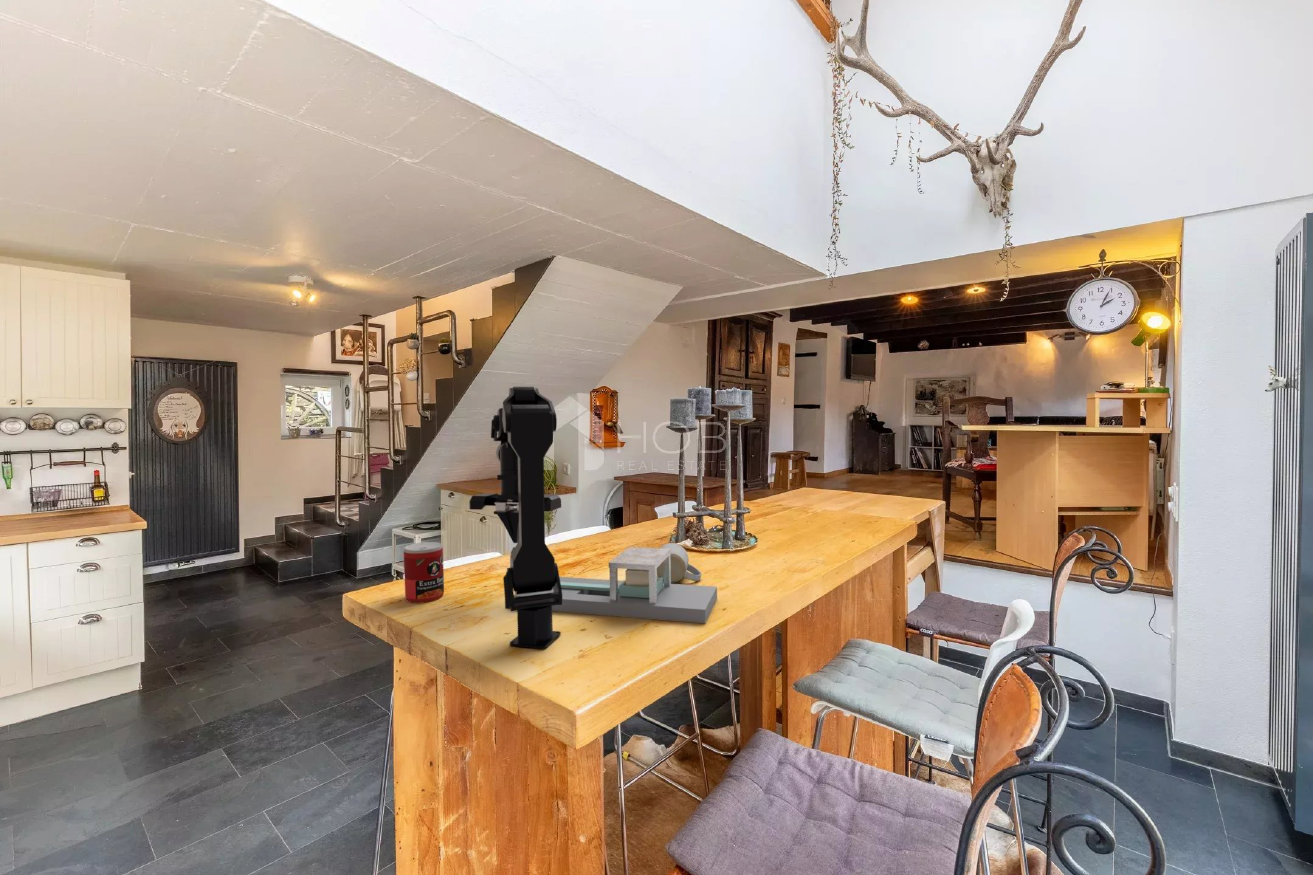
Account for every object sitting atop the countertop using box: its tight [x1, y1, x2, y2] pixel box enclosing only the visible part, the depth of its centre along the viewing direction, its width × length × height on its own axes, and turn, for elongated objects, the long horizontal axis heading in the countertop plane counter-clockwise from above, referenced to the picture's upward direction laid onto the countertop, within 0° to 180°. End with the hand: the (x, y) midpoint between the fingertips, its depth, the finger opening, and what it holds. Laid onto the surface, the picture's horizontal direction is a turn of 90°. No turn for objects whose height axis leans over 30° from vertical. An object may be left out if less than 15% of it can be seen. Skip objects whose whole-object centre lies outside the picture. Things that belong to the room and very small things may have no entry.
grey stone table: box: [608, 546, 672, 604], centre depth 111 cm, size 13×9×8 cm
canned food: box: [403, 541, 445, 603], centre depth 118 cm, size 8×8×11 cm
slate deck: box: [514, 576, 718, 624], centre depth 112 cm, size 14×38×2 cm, turn 75°
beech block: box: [625, 569, 649, 587], centre depth 111 cm, size 5×5×5 cm
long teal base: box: [560, 577, 664, 598], centre depth 113 cm, size 7×26×4 cm, turn 75°
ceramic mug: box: [657, 542, 703, 584], centre depth 128 cm, size 11×8×8 cm
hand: (516, 542), depth 118 cm, fingers closed
